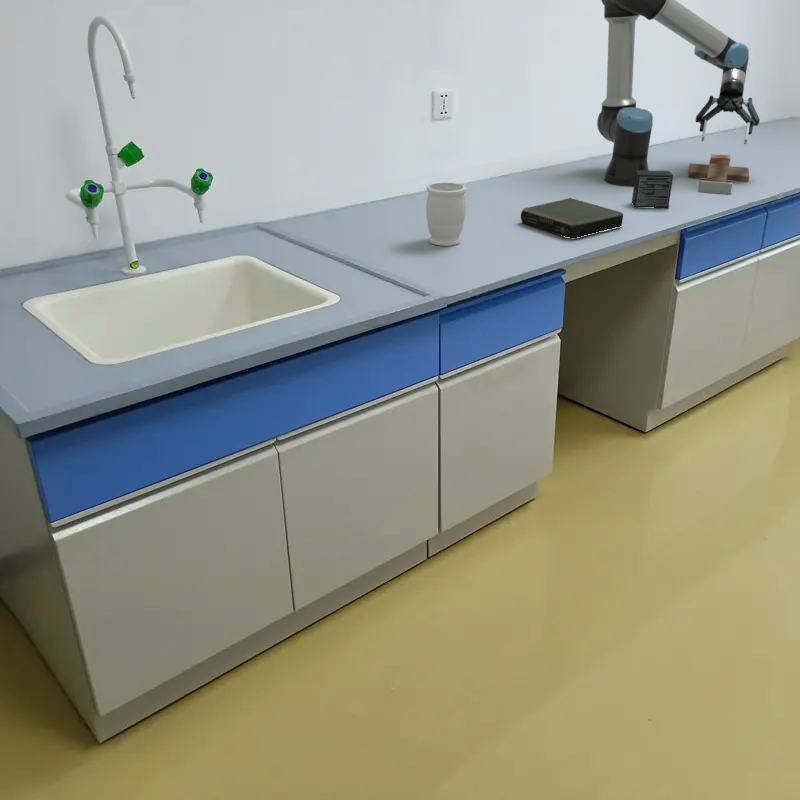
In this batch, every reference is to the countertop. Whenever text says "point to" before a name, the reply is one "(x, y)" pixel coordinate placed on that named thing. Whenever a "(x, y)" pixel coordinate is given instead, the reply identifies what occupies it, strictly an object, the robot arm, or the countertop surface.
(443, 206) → the jar
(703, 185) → the frame
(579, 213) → the network switch
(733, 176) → the walnut board
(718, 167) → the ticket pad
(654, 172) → the small box
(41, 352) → the countertop surface
